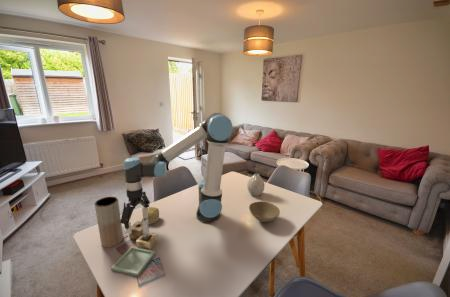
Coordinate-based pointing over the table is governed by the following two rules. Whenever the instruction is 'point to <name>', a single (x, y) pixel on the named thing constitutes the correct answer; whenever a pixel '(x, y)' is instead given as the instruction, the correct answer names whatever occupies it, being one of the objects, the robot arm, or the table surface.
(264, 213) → the bowl
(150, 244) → the block
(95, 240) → the table surface
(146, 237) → the cylinder
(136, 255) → the tray
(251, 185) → the vase
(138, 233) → the block
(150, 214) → the decorative item
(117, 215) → the planter
